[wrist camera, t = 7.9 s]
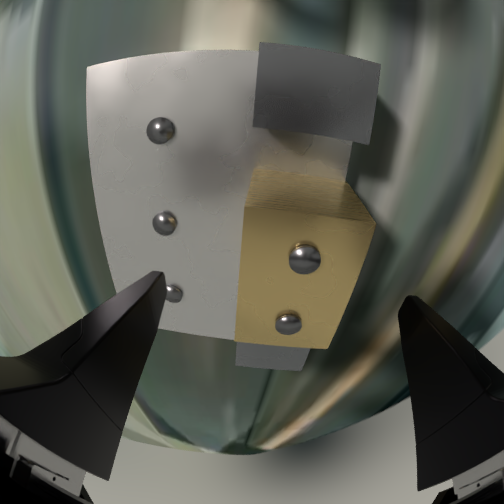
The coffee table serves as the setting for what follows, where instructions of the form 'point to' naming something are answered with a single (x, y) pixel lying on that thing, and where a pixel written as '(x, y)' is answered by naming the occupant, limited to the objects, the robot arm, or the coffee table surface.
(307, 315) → the block
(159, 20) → the coffee table surface
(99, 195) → the steel hinge plate
